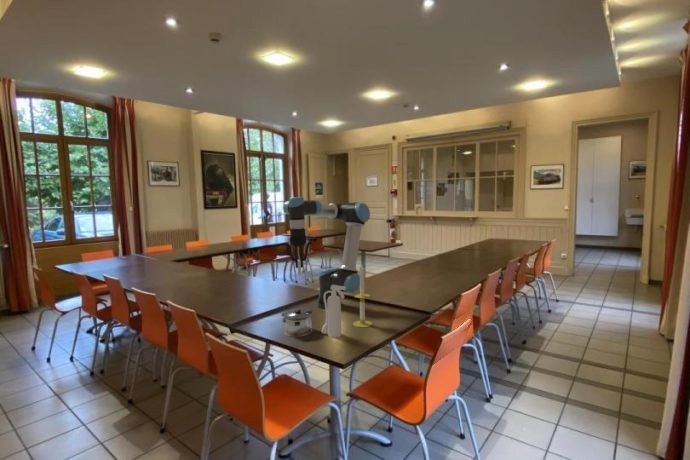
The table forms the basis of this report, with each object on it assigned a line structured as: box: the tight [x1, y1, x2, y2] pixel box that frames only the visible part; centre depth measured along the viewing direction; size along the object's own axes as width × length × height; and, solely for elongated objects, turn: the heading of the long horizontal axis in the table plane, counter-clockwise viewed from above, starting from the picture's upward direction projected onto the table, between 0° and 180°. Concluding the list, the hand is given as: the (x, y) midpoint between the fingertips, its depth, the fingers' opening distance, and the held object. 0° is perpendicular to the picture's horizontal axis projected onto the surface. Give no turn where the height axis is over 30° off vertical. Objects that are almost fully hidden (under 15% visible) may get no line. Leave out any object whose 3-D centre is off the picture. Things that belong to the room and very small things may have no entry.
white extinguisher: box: [320, 285, 346, 338], centre depth 172 cm, size 7×12×25 cm, turn 73°
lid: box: [281, 307, 313, 319], centre depth 178 cm, size 15×14×2 cm
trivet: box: [284, 328, 314, 337], centre depth 179 cm, size 14×14×1 cm
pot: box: [282, 316, 313, 337], centre depth 179 cm, size 14×18×8 cm
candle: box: [352, 263, 373, 328], centre depth 187 cm, size 10×10×32 cm
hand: (299, 273), depth 183 cm, fingers closed
